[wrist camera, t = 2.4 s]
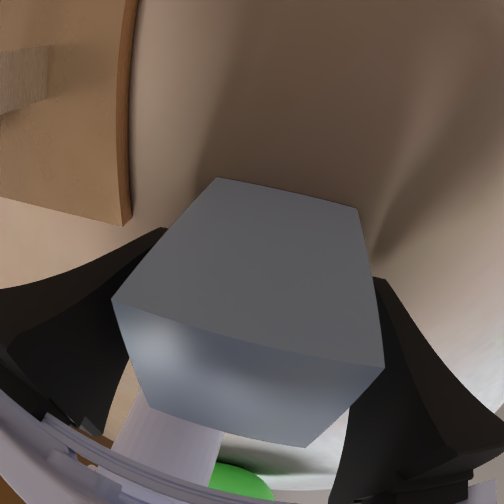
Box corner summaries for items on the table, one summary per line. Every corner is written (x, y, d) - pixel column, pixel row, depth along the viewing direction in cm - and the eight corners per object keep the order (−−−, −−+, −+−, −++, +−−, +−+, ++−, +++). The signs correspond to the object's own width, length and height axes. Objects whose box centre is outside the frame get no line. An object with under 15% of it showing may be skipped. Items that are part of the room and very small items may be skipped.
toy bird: (241, 451, 29) (212, 551, 17) (303, 479, 35) (287, 553, 23) (156, 443, 37) (127, 513, 25) (221, 474, 43) (202, 534, 31)
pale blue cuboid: (319, 309, 13) (305, 448, 7) (209, 283, 13) (149, 407, 8) (356, 208, 10) (385, 367, 4) (216, 176, 10) (111, 299, 5)
